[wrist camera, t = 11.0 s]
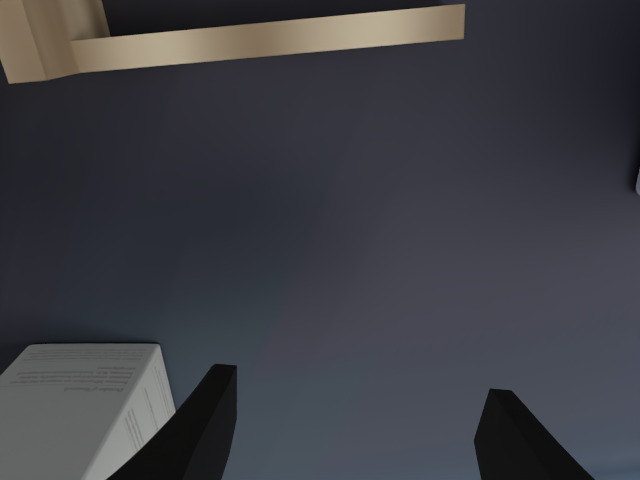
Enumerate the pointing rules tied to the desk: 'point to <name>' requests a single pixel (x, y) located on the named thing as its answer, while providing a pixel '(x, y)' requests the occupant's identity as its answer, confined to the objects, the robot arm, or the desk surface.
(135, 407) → the supplement box
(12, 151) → the desk surface
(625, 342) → the desk surface
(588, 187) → the desk surface
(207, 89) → the desk surface
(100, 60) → the lane rack
